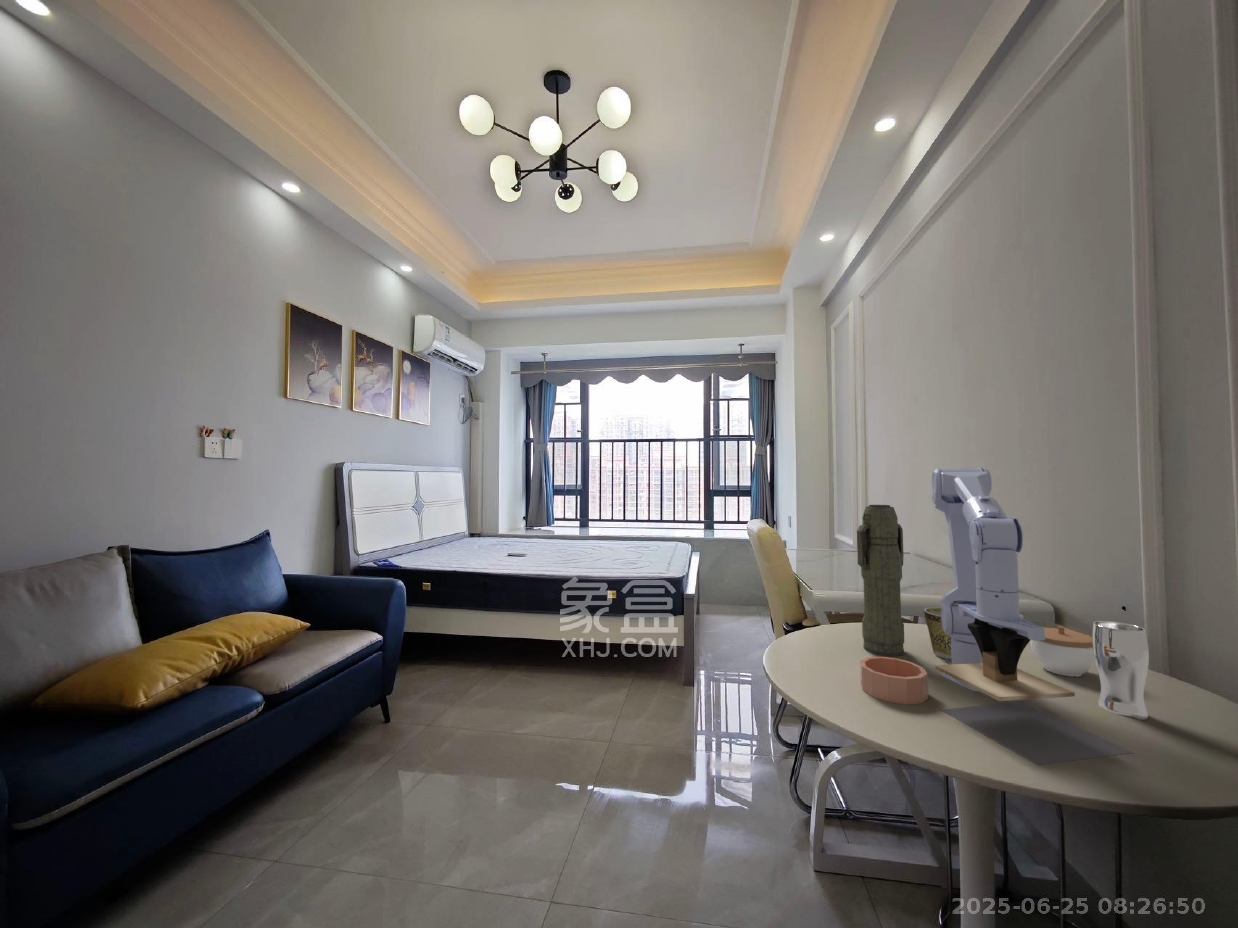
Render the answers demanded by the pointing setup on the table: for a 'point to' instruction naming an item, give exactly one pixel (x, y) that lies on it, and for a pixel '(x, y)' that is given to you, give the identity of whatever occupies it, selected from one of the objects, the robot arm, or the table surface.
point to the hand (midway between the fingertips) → (999, 670)
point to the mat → (1035, 733)
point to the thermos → (881, 580)
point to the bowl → (894, 680)
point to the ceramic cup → (937, 633)
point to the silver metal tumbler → (1121, 666)
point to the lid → (1003, 681)
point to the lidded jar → (1064, 652)
